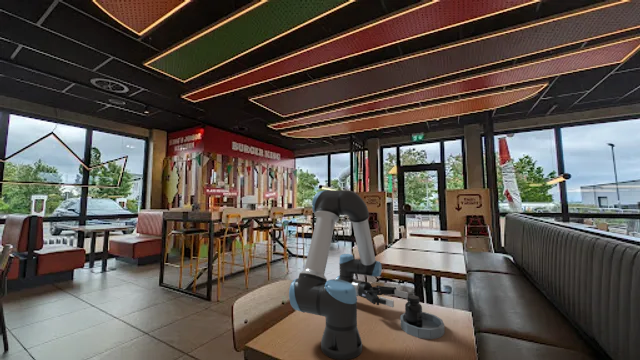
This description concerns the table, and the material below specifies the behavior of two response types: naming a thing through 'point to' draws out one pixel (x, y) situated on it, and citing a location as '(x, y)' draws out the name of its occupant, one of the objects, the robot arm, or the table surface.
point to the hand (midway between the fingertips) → (400, 299)
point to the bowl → (424, 327)
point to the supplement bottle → (413, 311)
